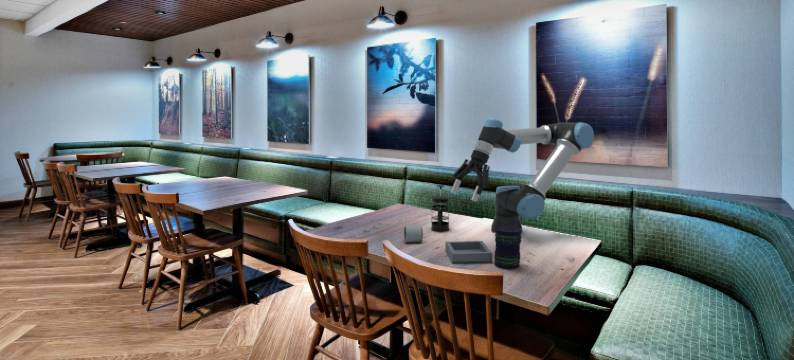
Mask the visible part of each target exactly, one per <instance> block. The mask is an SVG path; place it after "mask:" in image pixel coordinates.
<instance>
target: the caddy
mask: <svg viewBox="0 0 794 360" xmlns="http://www.w3.org/2000/svg"><path fill="white" fill-rule="evenodd" d="M444 250H445V252H446V255H447V256H448V258H449V260H450V261H451V264H485V263H487V264H488V263H489V264H490V263H493V251H491V250H490V248H489V247H488V246H487V245H486V244H485V243H484V241H483V240H464V241H463V240H462V241H460V240H459V241H445V249H444Z"/></svg>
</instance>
